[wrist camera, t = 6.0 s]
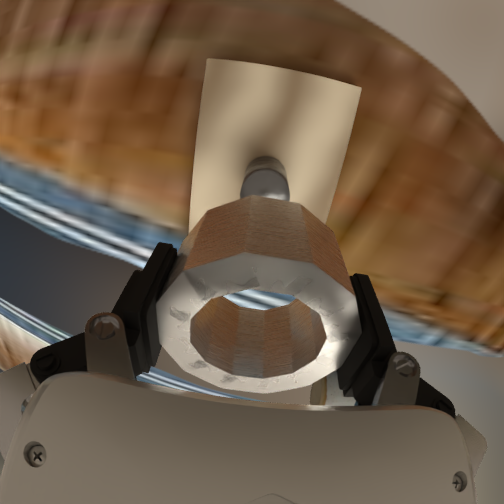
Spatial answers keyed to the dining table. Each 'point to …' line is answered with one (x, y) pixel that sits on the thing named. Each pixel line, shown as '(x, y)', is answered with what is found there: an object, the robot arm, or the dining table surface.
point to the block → (270, 132)
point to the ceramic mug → (329, 392)
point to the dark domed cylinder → (265, 179)
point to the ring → (265, 279)
